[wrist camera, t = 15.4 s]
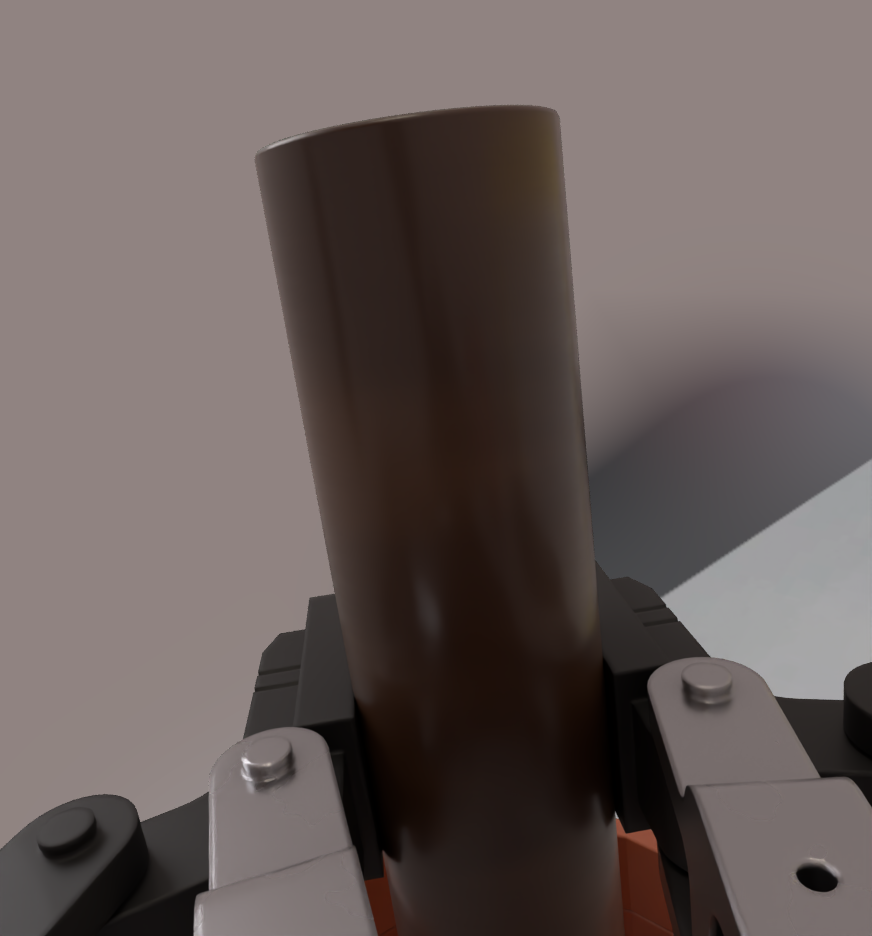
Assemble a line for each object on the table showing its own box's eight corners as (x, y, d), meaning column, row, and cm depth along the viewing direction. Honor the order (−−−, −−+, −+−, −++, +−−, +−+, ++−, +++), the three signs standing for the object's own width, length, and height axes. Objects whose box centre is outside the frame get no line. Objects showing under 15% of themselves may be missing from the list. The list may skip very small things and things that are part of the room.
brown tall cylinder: (422, 1468, 10) (116, 134, 6) (403, 1108, 14) (219, 180, 10) (753, 1392, 10) (717, 57, 6) (639, 1061, 15) (566, 135, 10)
